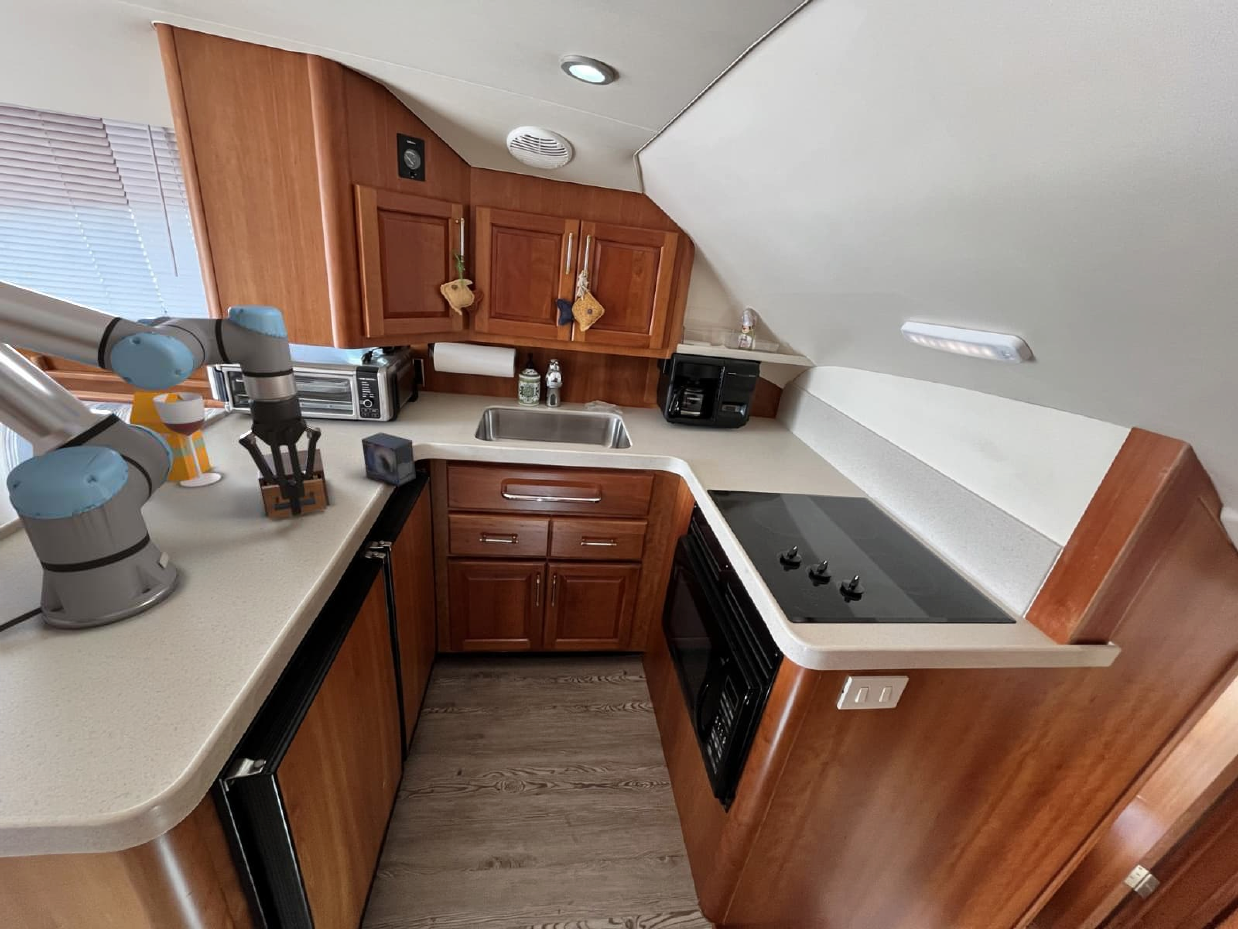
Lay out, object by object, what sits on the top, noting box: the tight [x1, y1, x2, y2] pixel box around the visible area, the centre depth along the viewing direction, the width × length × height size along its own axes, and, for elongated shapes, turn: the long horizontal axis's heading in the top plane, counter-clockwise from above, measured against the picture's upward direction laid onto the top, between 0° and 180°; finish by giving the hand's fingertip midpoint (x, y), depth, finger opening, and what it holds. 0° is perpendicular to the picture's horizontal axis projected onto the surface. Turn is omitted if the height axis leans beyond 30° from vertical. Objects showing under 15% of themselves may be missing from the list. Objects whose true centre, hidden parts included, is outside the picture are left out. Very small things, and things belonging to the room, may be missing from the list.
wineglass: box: [153, 391, 222, 488], centre depth 111 cm, size 8×9×20 cm
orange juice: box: [128, 391, 212, 482], centre depth 113 cm, size 8×9×20 cm
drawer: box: [262, 474, 328, 519], centre depth 105 cm, size 17×10×7 cm, turn 32°
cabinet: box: [257, 448, 330, 516], centre depth 110 cm, size 14×12×9 cm
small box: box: [361, 431, 417, 487], centre depth 122 cm, size 11×6×10 cm, turn 68°
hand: (297, 511), depth 97 cm, fingers closed
